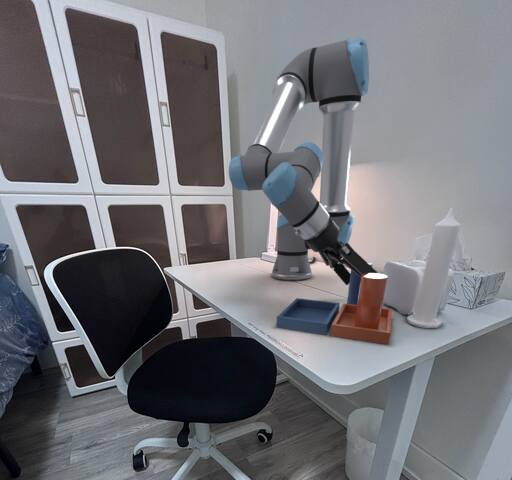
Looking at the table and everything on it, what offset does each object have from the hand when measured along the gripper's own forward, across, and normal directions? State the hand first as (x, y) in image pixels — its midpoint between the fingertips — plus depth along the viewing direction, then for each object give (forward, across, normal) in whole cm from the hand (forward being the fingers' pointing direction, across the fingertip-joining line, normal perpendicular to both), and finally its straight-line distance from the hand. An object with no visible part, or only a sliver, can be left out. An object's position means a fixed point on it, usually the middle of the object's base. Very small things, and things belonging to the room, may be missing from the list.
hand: (364, 287), depth 77 cm
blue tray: (-8, +4, -16) cm, 19 cm away
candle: (+9, +14, +1) cm, 17 cm away
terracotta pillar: (-3, +15, -10) cm, 18 cm away
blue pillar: (+3, 0, -5) cm, 6 cm away
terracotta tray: (-1, +12, -9) cm, 15 cm away
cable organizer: (+13, +4, +5) cm, 14 cm away
